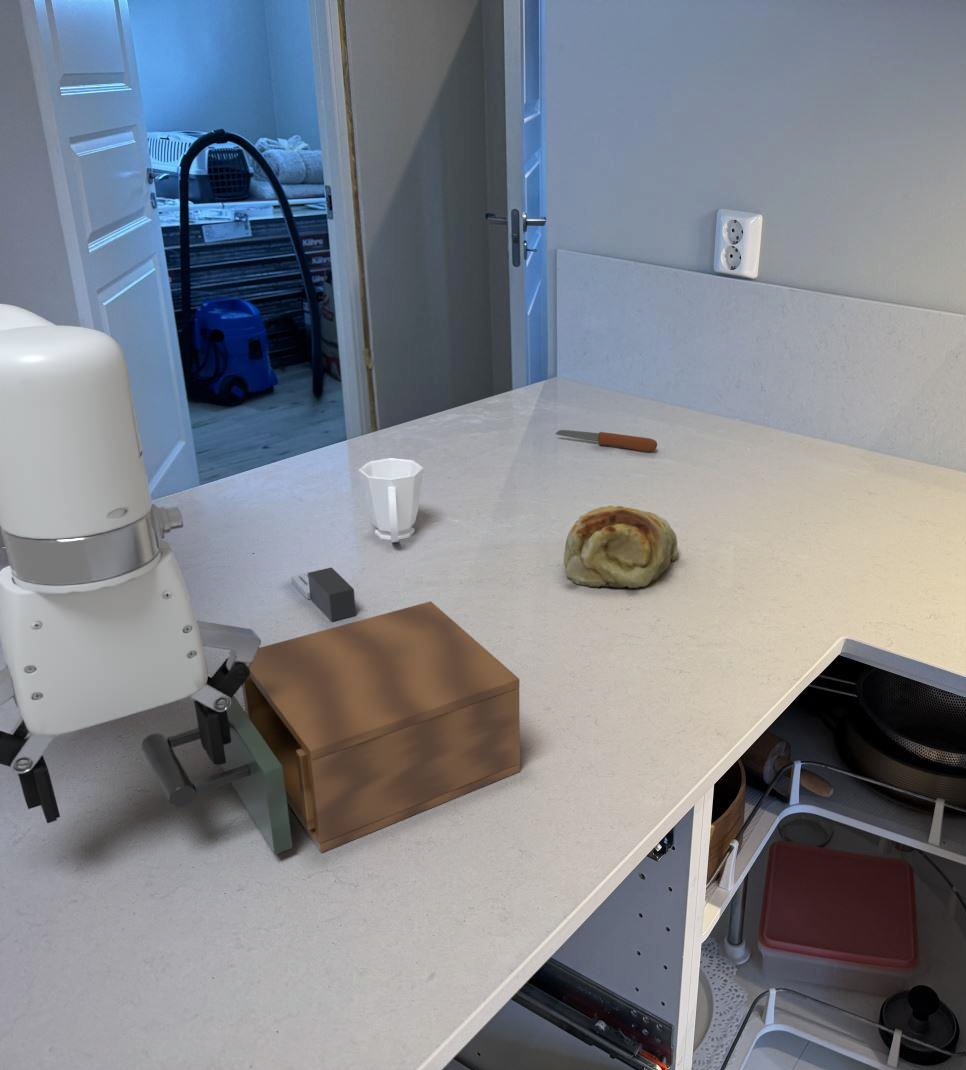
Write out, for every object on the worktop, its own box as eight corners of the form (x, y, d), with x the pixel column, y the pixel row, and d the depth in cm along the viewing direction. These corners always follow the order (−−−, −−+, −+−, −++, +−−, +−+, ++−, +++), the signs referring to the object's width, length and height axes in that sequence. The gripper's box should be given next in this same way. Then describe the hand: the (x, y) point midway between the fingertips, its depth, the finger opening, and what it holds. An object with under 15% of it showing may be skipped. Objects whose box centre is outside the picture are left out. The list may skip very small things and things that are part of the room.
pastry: (580, 600, 104) (582, 531, 101) (546, 551, 114) (547, 487, 111) (702, 583, 110) (707, 517, 107) (659, 538, 120) (663, 476, 117)
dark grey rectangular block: (359, 614, 98) (356, 587, 97) (328, 623, 96) (326, 595, 95) (320, 576, 105) (318, 550, 103) (291, 583, 103) (288, 557, 101)
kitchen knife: (657, 451, 149) (658, 438, 148) (655, 454, 148) (656, 441, 147) (556, 437, 151) (557, 425, 150) (553, 440, 150) (554, 427, 149)
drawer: (194, 887, 63) (179, 802, 60) (140, 778, 72) (124, 699, 69) (471, 776, 75) (469, 701, 73) (395, 694, 84) (390, 625, 82)
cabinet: (321, 853, 68) (309, 750, 65) (250, 747, 78) (237, 653, 74) (520, 771, 78) (519, 678, 74) (434, 686, 87) (431, 600, 84)
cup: (425, 519, 120) (422, 456, 116) (428, 554, 111) (425, 488, 108) (363, 522, 118) (359, 458, 114) (362, 558, 109) (357, 490, 106)
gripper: (221, 494, 66) (254, 711, 73) (-109, 554, 55) (-34, 802, 62) (260, 533, 61) (290, 762, 68) (-96, 607, 50) (-16, 870, 57)
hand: (135, 781), depth 65 cm, fingers open, 9 cm apart
